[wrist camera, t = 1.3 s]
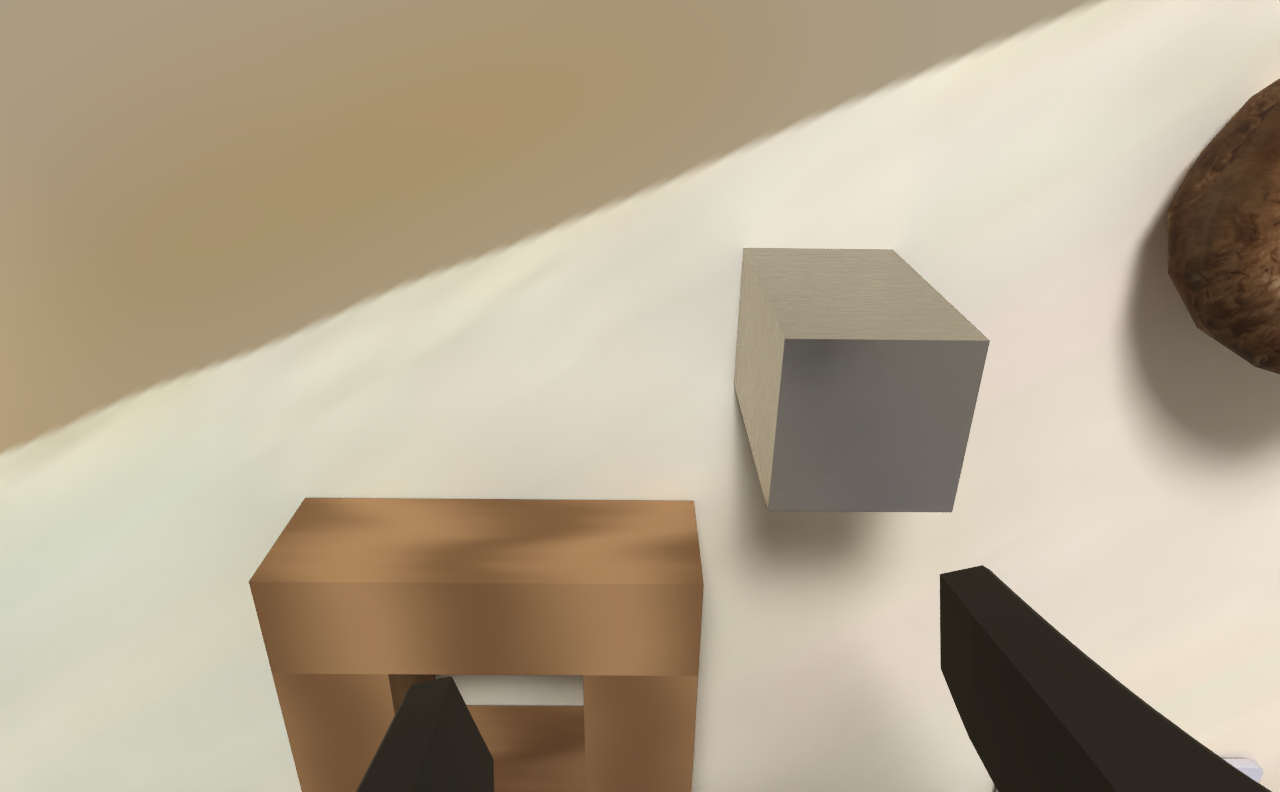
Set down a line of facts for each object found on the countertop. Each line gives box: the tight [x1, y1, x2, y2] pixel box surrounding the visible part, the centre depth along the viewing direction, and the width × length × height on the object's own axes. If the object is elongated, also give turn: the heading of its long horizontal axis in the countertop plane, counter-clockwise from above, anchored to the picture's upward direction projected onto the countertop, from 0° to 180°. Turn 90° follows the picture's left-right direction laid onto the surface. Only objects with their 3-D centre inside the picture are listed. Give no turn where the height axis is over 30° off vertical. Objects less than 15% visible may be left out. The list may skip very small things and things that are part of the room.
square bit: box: [734, 248, 990, 512], centre depth 19 cm, size 4×4×6 cm
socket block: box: [249, 498, 704, 792], centre depth 26 cm, size 12×12×4 cm
